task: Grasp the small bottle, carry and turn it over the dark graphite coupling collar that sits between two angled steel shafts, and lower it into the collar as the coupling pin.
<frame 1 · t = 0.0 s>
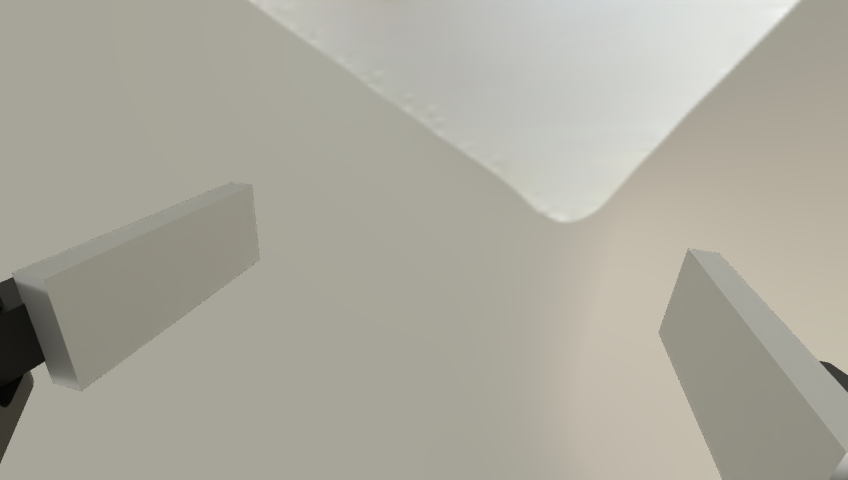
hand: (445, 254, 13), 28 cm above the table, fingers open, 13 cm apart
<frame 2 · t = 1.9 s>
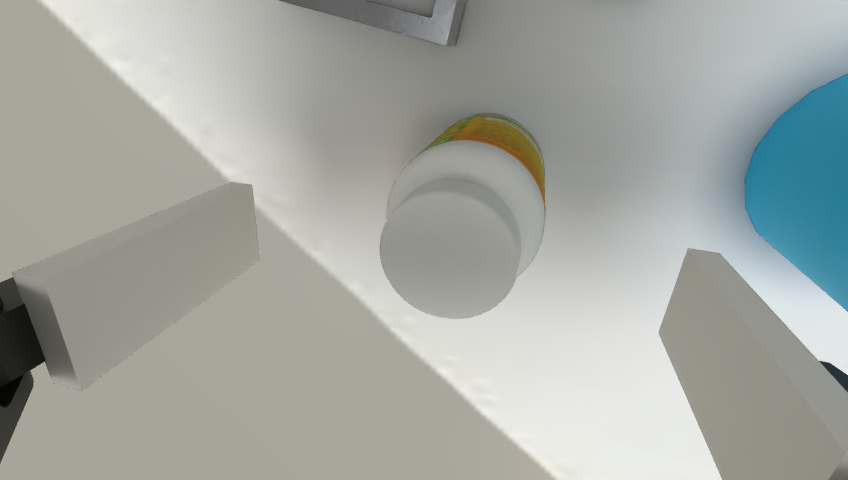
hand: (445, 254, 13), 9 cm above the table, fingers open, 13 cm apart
supplement bottle: (486, 169, 21), on the table
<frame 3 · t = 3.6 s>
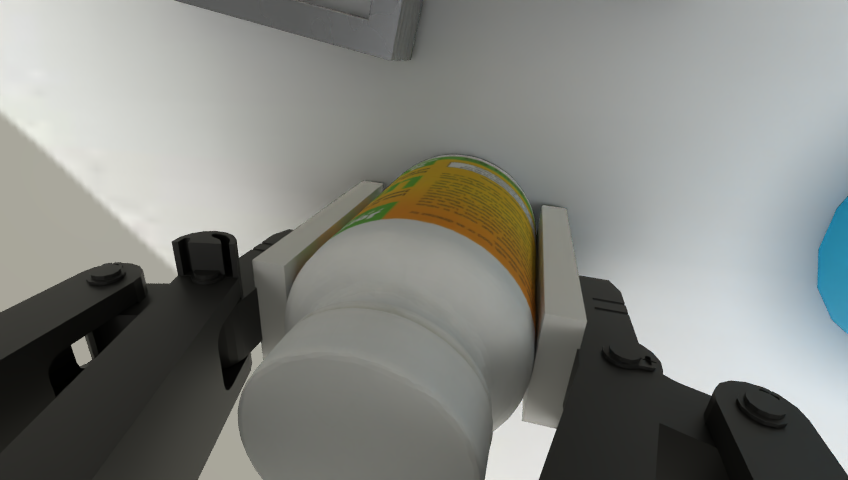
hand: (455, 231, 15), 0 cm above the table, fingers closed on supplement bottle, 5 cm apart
supplement bottle: (458, 225, 15), on the table, touching gripper
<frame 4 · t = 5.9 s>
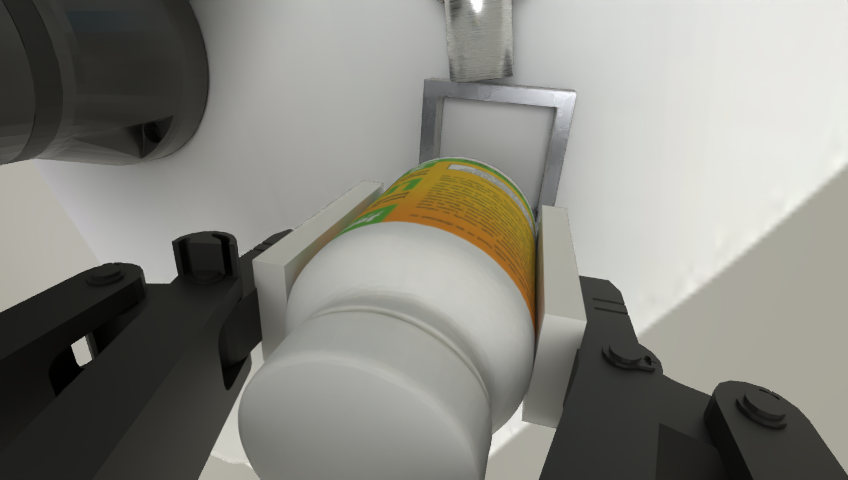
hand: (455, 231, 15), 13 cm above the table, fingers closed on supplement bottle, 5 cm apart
collar: (491, 153, 27), on the table
shaft 2: (485, 8, 24), on the table
decorative ball: (310, 315, 35), on the table
supplement bottle: (458, 227, 15), point 13 cm above the table, touching gripper
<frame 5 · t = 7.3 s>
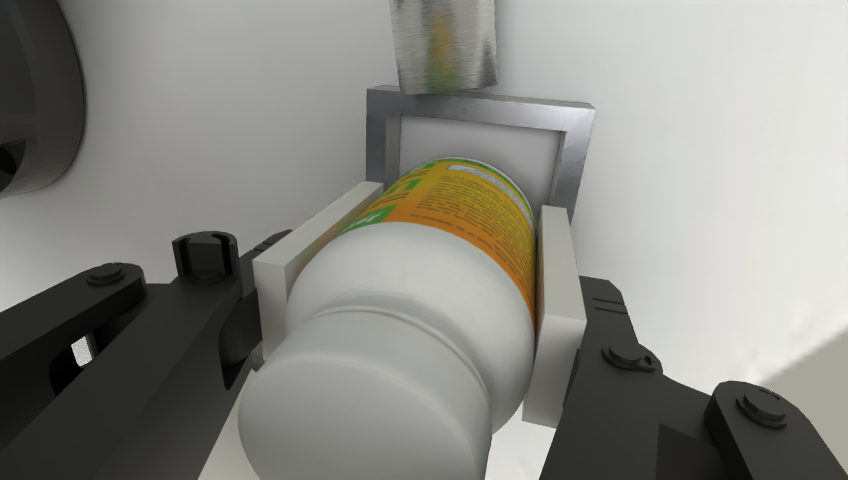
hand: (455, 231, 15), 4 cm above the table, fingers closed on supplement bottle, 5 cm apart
collar: (470, 192, 19), on the table
decorative ball: (245, 387, 28), on the table
supplement bottle: (458, 227, 15), point 4 cm above the table, touching gripper
when the fingers open (3 cm above the table, at t = 8.3 s): supplement bottle drops 3 cm, resting in collar.
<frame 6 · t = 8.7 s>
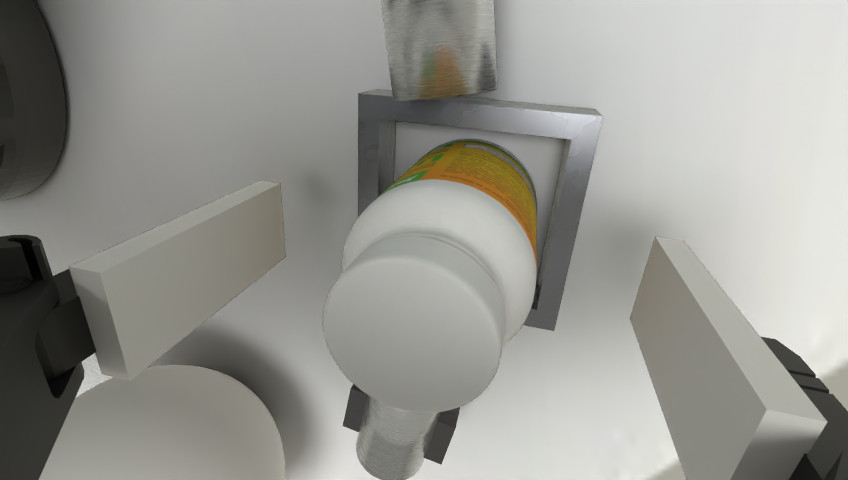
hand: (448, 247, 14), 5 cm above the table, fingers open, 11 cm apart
shaft 1: (424, 349, 21), on the table
collar: (469, 202, 18), on the table
decorative ball: (236, 401, 27), on the table
supplement bottle: (470, 201, 18), resting in collar
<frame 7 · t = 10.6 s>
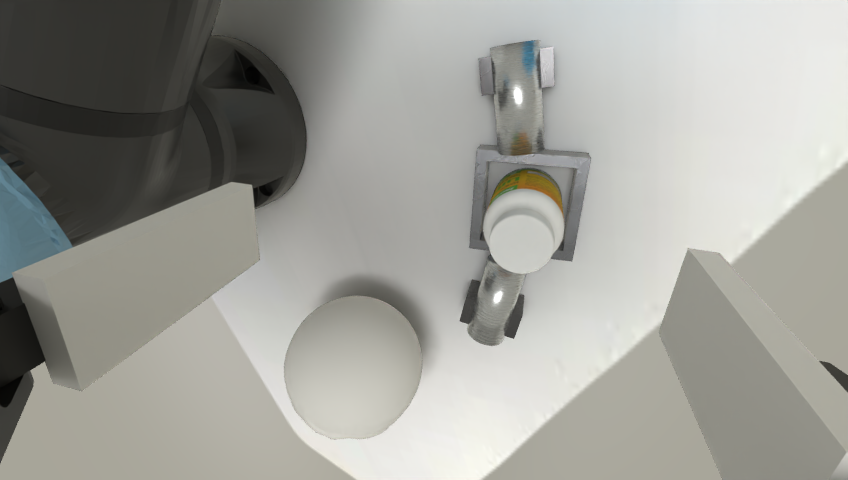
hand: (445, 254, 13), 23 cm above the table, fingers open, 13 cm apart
shaft 1: (499, 281, 38), on the table
collar: (526, 199, 35), on the table
shaft 2: (520, 96, 32), on the table
decorative ball: (379, 325, 44), on the table
supplement bottle: (526, 198, 35), resting in collar
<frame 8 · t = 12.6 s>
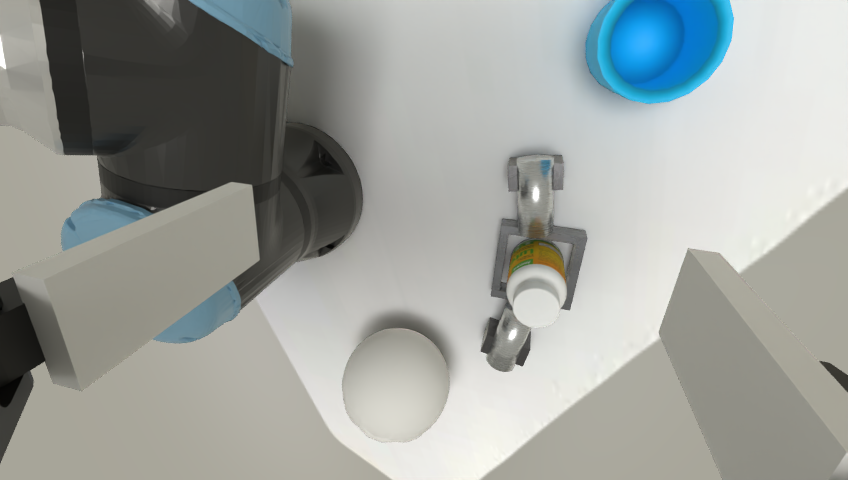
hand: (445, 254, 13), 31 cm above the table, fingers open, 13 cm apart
shaft 1: (511, 320, 49), on the table
collar: (536, 260, 45), on the table
shaft 2: (535, 186, 42), on the table
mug: (633, 18, 35), on the table
decorative ball: (410, 348, 54), on the table
supplement bottle: (536, 259, 45), resting in collar
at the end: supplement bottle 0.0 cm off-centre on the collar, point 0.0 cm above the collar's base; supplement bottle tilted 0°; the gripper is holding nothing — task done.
